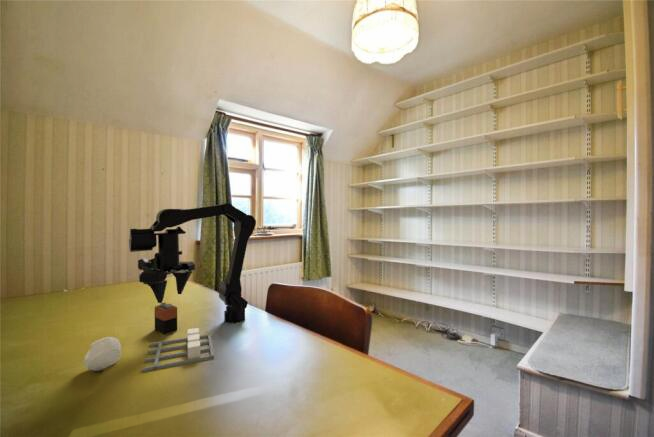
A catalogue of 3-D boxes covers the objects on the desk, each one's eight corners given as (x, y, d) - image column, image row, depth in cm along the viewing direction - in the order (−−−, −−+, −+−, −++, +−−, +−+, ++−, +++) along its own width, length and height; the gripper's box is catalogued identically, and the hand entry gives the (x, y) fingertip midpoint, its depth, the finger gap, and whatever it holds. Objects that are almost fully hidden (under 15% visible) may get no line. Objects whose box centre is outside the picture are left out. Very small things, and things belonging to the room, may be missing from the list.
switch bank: (210, 339, 93) (210, 333, 93) (214, 363, 79) (214, 355, 79) (143, 350, 85) (143, 343, 85) (134, 378, 71) (134, 370, 71)
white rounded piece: (84, 366, 77) (84, 336, 77) (120, 358, 81) (120, 330, 81) (83, 380, 70) (83, 348, 70) (122, 370, 75) (122, 339, 75)
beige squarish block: (199, 345, 86) (199, 333, 86) (199, 351, 83) (199, 338, 83) (187, 347, 85) (187, 335, 85) (187, 353, 81) (187, 340, 81)
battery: (164, 338, 94) (164, 307, 94) (154, 333, 98) (153, 303, 98) (178, 334, 97) (177, 303, 97) (167, 329, 101) (167, 300, 101)
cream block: (199, 353, 81) (199, 340, 81) (200, 358, 78) (200, 345, 78) (187, 355, 80) (187, 342, 80) (187, 361, 77) (187, 347, 77)
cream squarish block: (198, 339, 90) (198, 327, 90) (199, 343, 87) (199, 332, 87) (187, 340, 89) (187, 329, 89) (187, 345, 86) (187, 333, 86)
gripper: (165, 245, 104) (167, 289, 104) (121, 253, 85) (123, 307, 86) (195, 245, 102) (196, 290, 102) (156, 253, 83) (158, 308, 84)
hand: (170, 298), depth 94 cm, fingers open, 9 cm apart
